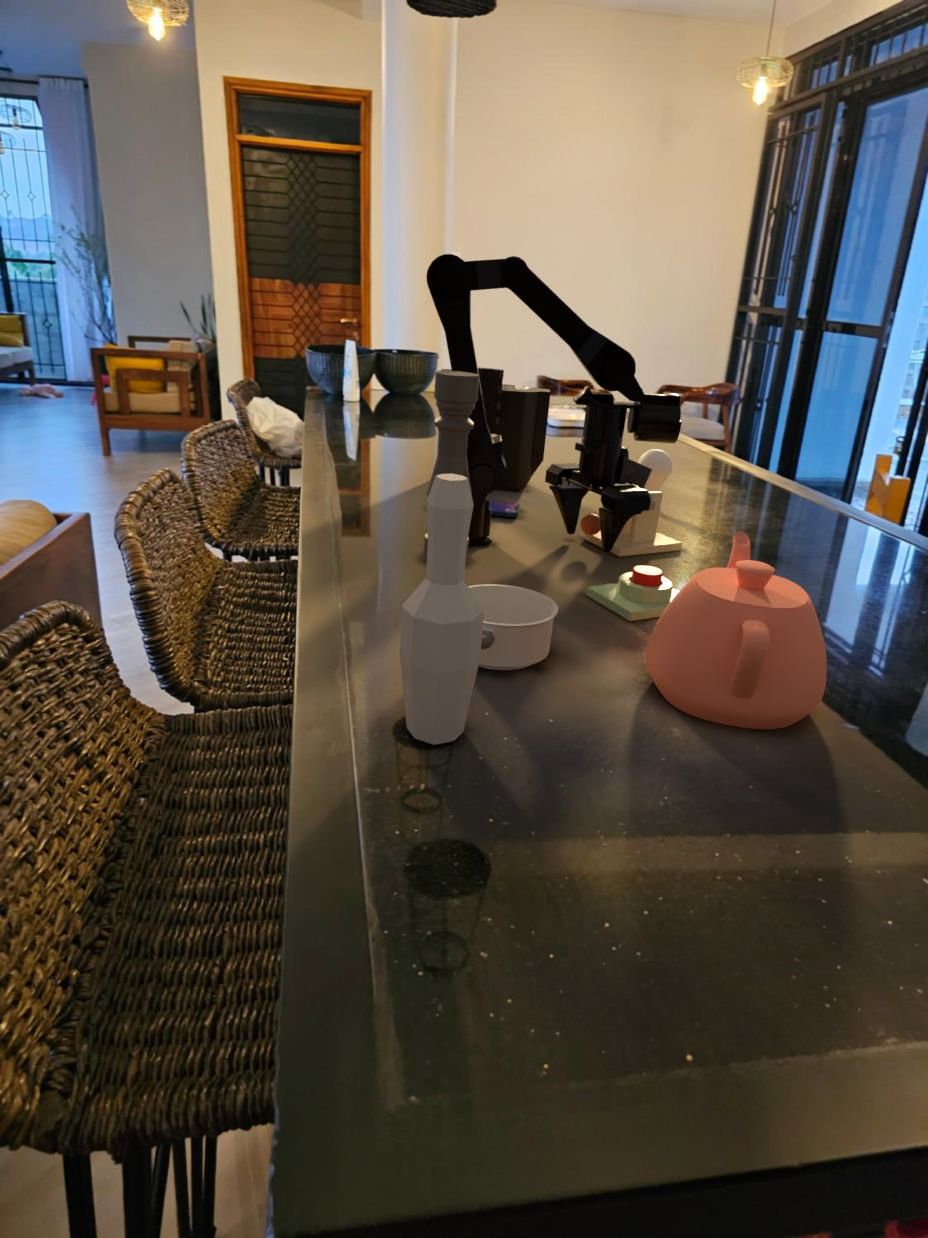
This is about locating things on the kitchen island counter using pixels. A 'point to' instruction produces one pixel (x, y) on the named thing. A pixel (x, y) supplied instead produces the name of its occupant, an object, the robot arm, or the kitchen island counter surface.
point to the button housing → (634, 597)
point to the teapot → (740, 646)
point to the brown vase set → (515, 425)
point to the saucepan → (514, 626)
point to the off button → (646, 576)
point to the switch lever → (590, 524)
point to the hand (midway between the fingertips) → (588, 542)
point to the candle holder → (453, 426)
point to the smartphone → (504, 508)
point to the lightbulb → (656, 468)
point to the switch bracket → (641, 533)
